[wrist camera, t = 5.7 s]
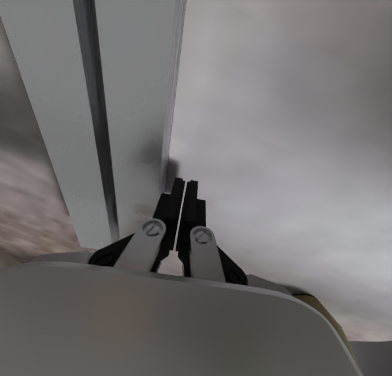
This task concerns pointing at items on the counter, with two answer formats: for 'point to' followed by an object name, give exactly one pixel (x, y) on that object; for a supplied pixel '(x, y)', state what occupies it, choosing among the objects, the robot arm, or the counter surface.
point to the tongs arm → (139, 98)
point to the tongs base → (68, 105)
